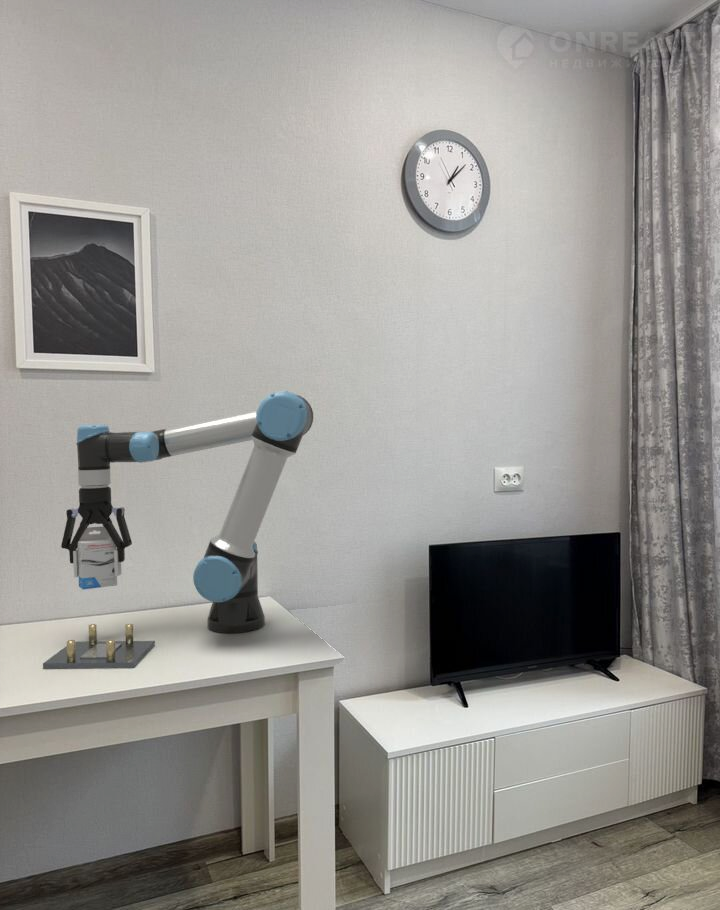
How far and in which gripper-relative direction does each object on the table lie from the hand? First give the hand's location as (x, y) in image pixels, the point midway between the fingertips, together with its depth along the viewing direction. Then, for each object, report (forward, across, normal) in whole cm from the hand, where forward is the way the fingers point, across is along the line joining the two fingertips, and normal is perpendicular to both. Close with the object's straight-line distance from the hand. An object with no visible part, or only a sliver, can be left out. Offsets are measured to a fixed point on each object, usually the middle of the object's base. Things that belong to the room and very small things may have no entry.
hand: (97, 575), depth 174 cm
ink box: (+3, 0, 0) cm, 3 cm away
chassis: (+16, -5, +14) cm, 22 cm away
